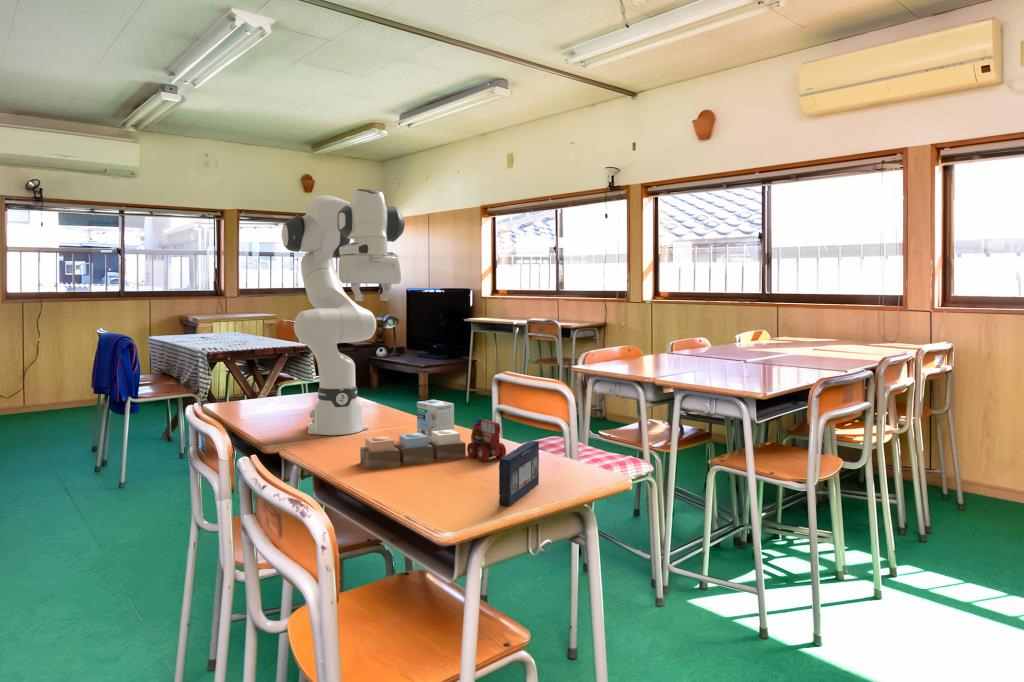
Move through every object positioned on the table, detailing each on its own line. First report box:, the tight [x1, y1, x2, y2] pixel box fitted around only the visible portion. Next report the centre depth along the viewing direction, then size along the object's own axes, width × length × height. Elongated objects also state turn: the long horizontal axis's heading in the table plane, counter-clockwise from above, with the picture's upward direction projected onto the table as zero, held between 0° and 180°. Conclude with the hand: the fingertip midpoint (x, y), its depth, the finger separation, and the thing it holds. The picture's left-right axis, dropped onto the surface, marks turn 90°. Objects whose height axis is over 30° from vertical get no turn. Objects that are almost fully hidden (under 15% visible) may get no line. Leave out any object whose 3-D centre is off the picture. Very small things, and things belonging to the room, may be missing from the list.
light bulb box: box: [416, 399, 455, 440], centre depth 206 cm, size 11×7×11 cm, turn 42°
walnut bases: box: [359, 439, 467, 471], centre depth 178 cm, size 8×26×4 cm, turn 117°
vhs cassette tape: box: [498, 440, 540, 508], centre depth 148 cm, size 18×3×10 cm, turn 157°
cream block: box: [432, 429, 461, 445], centre depth 182 cm, size 6×6×4 cm
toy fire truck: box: [466, 417, 507, 463], centre depth 181 cm, size 7×12×10 cm, turn 34°
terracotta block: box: [364, 435, 395, 453], centre depth 174 cm, size 6×6×4 cm
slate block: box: [398, 432, 429, 449], centre depth 178 cm, size 6×6×4 cm
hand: (372, 300), depth 185 cm, fingers open, 8 cm apart
